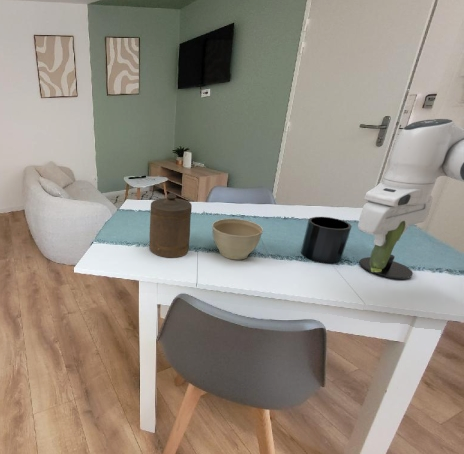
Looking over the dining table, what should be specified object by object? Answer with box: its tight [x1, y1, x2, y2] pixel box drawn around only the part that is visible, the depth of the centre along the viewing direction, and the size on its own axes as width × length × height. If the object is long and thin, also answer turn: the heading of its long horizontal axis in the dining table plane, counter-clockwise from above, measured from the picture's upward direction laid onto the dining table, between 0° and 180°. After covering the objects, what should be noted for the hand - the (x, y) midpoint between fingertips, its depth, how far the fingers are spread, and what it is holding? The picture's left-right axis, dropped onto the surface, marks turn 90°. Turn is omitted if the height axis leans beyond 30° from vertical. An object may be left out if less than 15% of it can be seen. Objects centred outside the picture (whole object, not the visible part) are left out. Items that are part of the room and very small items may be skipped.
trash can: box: [300, 216, 352, 265], centre depth 99 cm, size 11×11×12 cm
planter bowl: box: [211, 218, 264, 261], centre depth 104 cm, size 16×16×11 cm
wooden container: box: [149, 192, 193, 258], centre depth 108 cm, size 15×15×22 cm
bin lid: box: [358, 254, 414, 280], centre depth 91 cm, size 12×12×5 cm
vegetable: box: [369, 221, 405, 273], centre depth 75 cm, size 4×4×20 cm
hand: (385, 242), depth 75 cm, fingers closed on vegetable, 4 cm apart
